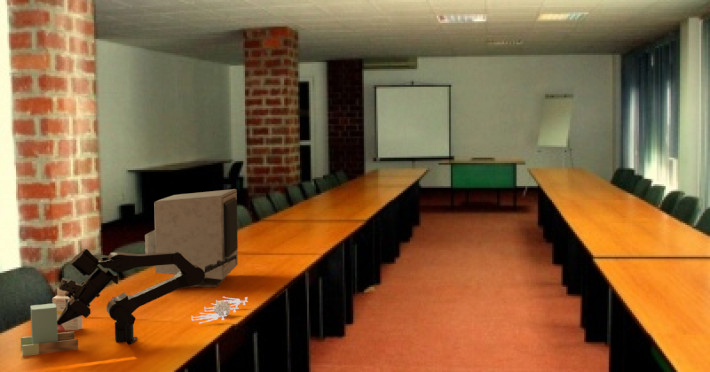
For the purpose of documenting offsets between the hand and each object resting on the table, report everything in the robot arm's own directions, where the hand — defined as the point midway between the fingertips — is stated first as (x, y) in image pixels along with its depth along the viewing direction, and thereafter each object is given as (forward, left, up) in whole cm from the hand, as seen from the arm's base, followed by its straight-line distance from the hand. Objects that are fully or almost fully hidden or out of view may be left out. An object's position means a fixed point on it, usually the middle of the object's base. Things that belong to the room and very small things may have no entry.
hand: (57, 324), depth 235 cm
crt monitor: (-104, +12, -8) cm, 105 cm away
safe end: (+4, -7, -8) cm, 11 cm away
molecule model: (-45, +40, -9) cm, 61 cm away
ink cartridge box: (-22, -7, -8) cm, 24 cm away
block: (+2, -3, -7) cm, 8 cm away
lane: (0, 0, -8) cm, 8 cm away
